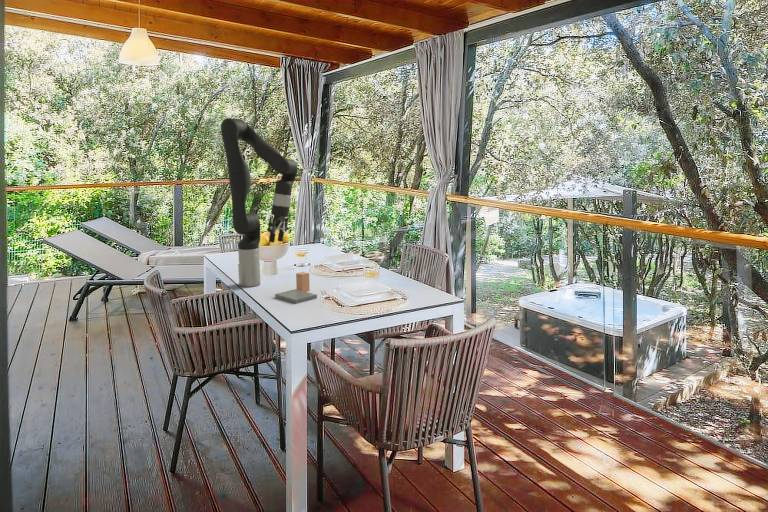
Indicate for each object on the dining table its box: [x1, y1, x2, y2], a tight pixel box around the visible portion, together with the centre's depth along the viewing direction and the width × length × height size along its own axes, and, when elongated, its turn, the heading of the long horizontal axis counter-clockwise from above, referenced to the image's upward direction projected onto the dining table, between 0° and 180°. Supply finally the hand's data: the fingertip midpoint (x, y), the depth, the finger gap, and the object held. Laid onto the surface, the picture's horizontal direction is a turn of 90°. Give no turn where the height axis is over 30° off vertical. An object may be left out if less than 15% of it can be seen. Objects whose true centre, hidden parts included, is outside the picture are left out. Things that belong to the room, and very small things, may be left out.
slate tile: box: [274, 288, 318, 304], centre depth 229 cm, size 14×11×2 cm
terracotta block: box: [295, 271, 310, 292], centre depth 240 cm, size 4×4×8 cm
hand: (275, 241), depth 238 cm, fingers open, 8 cm apart
